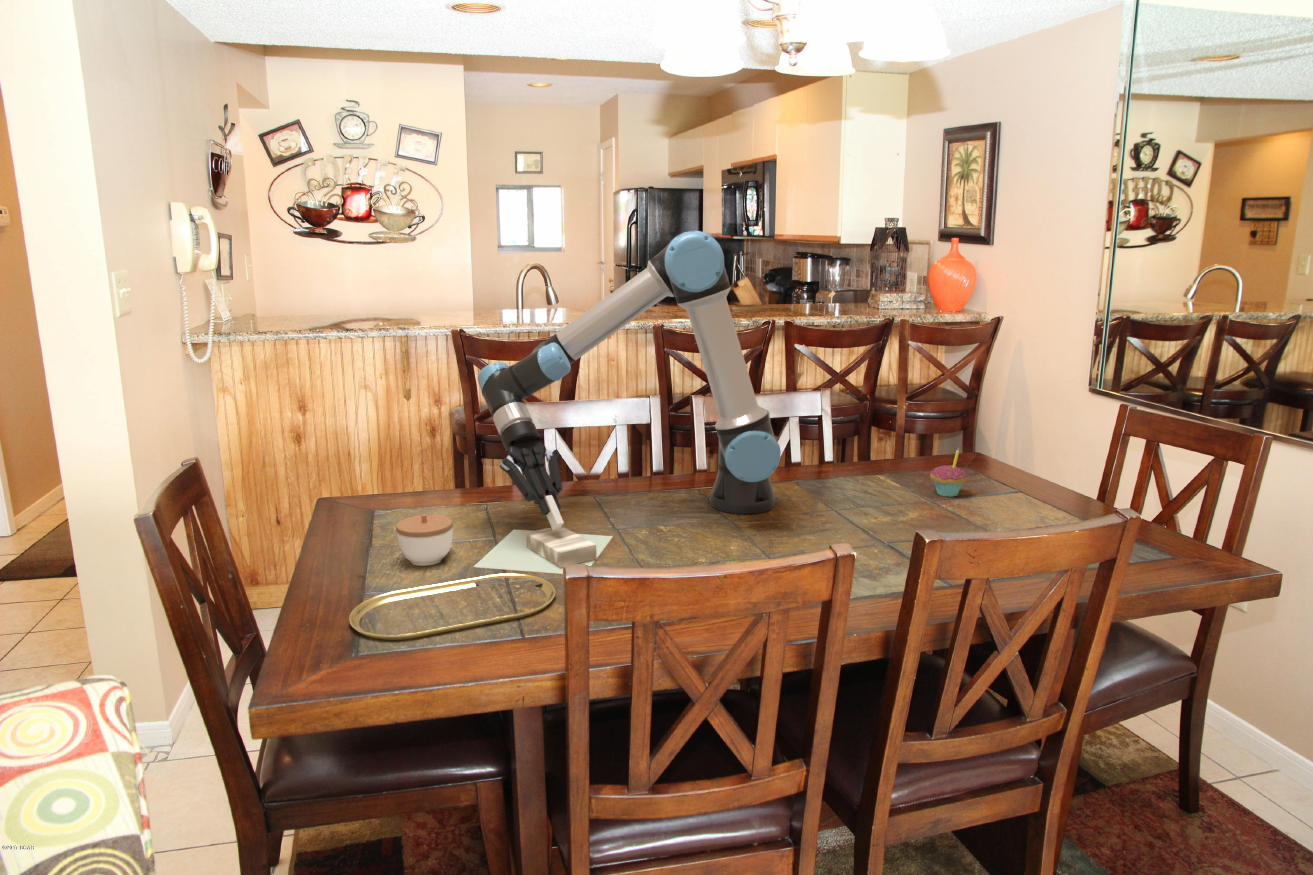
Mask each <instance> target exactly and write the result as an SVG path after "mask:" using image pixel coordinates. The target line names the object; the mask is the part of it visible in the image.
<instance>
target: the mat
mask: <svg viewBox="0 0 1313 875" xmlns="http://www.w3.org/2000/svg"><path fill="white" fill-rule="evenodd" d="M532 531H533V530H527V529H526V530H525V529H513V530H511V531H510V532H509V533H508V534H507V535H506V536H505V537H504V538H503V539H501V541H499V543H497V544H496V545H495V546H494V547H493V548H492V549H491V550H490V551H489V552H488V553H487V554H485V555H484V556H483V557H482V558H481V559H480V560H479V561H478V562H476V563H475V565H473V568H479V569H480V568H481V569H491V570H492V569H494V570H506V571H517V572H519V571H521V572H532V573H534V572H535V573H544V574H545V573H547V574H557V575H558V574H559V575H564V574H563V567H562V568H560V567H558V566H557V565H555V564H554V563H552V562H550V561H549V560H547V559H545V558H544V557H542V556H540V555H539V554H537V553H536V552H534V551H532V550H531V549H529V548H527V546H526V533H528V532H532ZM577 534H578V535H580V536H582V537H583V538H585V539H587V540H589V541H591V542H593V543H595V544H596V555H597V558H598V557H599V556H600V555H601V554H602V552H603V551H604V549H605V548H606V547H607V545H609V543H610V541H611V540H612V539H613V538H614V536H613V535H604V534H603V535H601V534H599V535H597V534H589V533H588V534H587V533H585V534H584V533H577ZM596 560H597V559H594V560H590V561H586V562H582V563H578V564H585V565H588V566H591V567H592V565H593V564H594V563H595V561H596Z"/></svg>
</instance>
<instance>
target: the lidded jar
mask: <svg viewBox="0 0 1313 875" xmlns="http://www.w3.org/2000/svg"><path fill="white" fill-rule="evenodd" d="M453 526H454V524H453V519H452V518H450V517H449V516H446V515H443V514H442V515H440V514H426V513H424V514H421V515H414V516H409V517H407V518H403V519H401V520H400V521H398V522H397V523H396V524H395V530H396V534H397V543H398V546H399V549H400V551H401V553H402V555H403V556H404V557H405V559H407V560H409V561H410V563H411V564H412V565H413V566H420V567H427V566H433V565H436V564H437V565H438V564H439V563H441V562H442V561H443V559H444V558H445V557H446V555H447V554H448V553H449V551H450V549H451V547H452V544H453Z"/></svg>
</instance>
